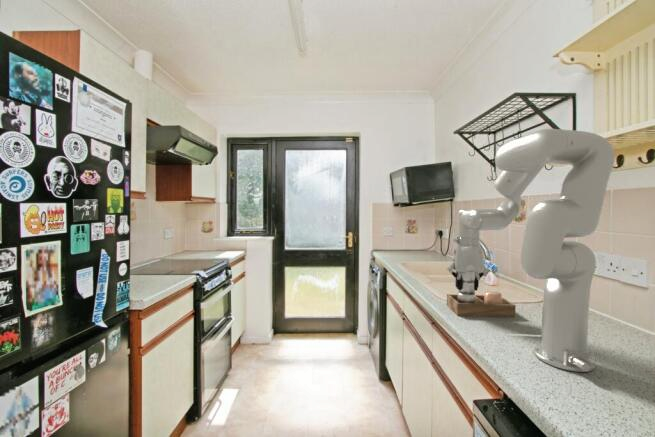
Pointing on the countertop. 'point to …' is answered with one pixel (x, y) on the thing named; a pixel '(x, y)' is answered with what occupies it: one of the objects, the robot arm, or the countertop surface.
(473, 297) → the grey metal bottle
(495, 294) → the peach colored egg
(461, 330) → the countertop surface
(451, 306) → the crate
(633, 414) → the countertop surface
